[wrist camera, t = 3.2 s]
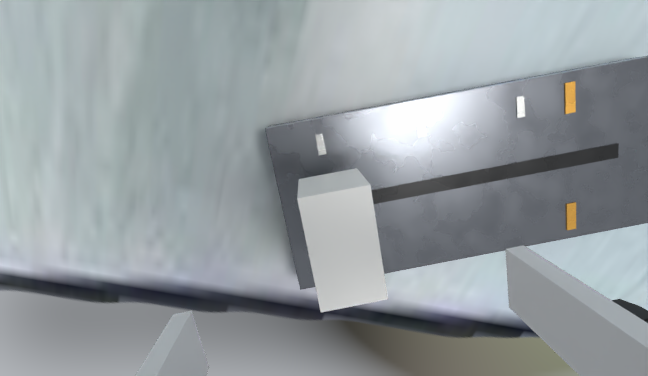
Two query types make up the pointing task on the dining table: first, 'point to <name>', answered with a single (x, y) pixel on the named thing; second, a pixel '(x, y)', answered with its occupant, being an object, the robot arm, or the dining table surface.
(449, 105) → the fader console
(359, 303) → the fader knob
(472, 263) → the dining table surface
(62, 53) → the dining table surface
